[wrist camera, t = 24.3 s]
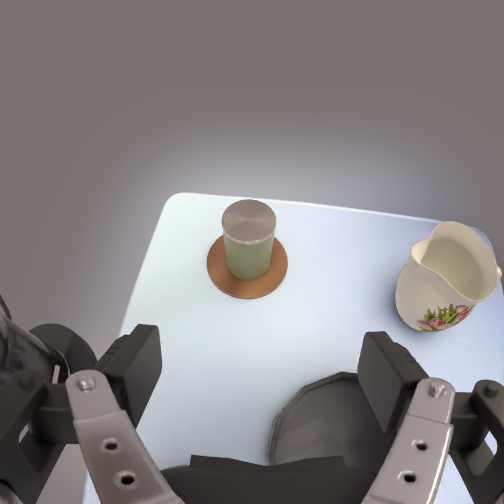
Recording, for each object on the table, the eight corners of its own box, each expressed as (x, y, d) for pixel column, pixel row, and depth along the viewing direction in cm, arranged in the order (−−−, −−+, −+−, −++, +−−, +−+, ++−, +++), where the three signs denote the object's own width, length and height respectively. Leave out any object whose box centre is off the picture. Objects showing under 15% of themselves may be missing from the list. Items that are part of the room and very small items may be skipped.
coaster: (197, 289, 41) (197, 287, 40) (219, 224, 47) (218, 222, 46) (280, 306, 40) (280, 304, 39) (292, 237, 46) (292, 235, 45)
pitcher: (473, 337, 37) (532, 297, 25) (371, 346, 37) (422, 304, 25) (458, 273, 43) (505, 223, 31) (361, 272, 43) (398, 210, 31)
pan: (254, 502, 26) (255, 508, 24) (284, 368, 35) (287, 363, 33) (453, 500, 24) (466, 502, 21) (467, 385, 33) (480, 381, 30)
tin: (220, 275, 41) (215, 236, 34) (231, 238, 45) (229, 195, 37) (266, 284, 41) (271, 246, 33) (274, 246, 44) (280, 204, 37)
